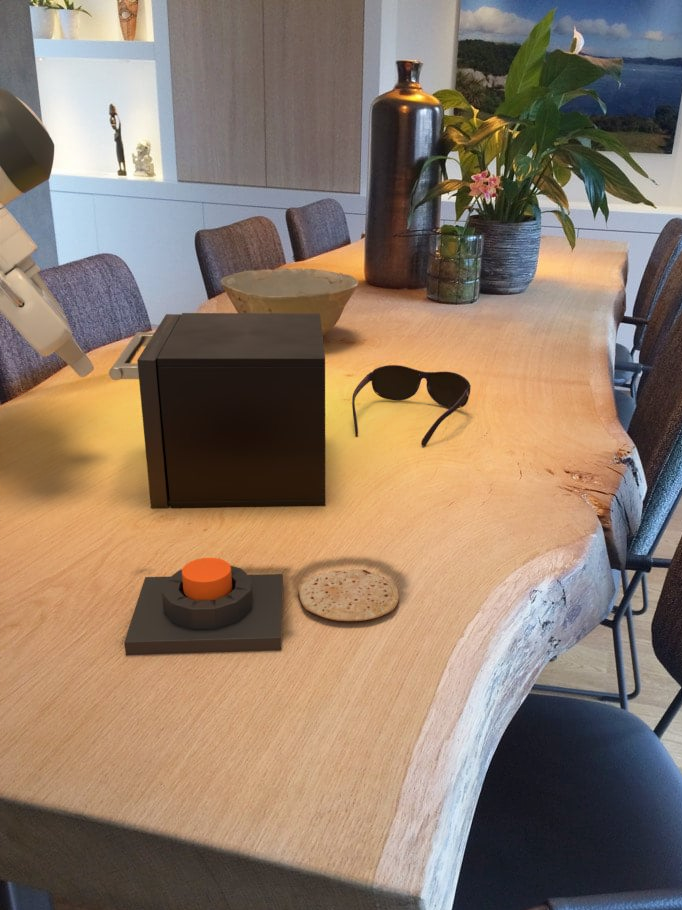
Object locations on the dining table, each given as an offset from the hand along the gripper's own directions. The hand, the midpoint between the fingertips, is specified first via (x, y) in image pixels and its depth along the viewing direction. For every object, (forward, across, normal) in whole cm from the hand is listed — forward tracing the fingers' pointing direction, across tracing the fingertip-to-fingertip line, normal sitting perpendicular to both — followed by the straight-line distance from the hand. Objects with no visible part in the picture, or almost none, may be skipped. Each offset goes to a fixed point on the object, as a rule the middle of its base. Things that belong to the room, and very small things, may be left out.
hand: (88, 371), depth 87 cm
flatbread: (+21, -35, -5) cm, 41 cm away
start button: (+13, -34, +2) cm, 36 cm away
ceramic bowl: (+23, +44, -26) cm, 56 cm away
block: (+15, -34, +4) cm, 37 cm away
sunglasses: (+29, +2, -26) cm, 39 cm away
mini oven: (+17, -8, -7) cm, 20 cm away
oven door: (+12, -5, +1) cm, 13 cm away
